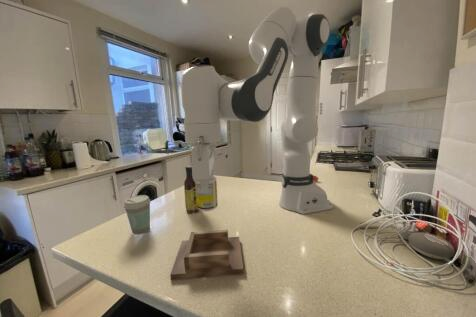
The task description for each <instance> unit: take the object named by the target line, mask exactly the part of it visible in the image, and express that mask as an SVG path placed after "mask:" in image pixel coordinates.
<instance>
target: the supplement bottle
mask: <svg viewBox="0 0 476 317" xmlns="http://www.w3.org/2000/svg"><path fill="white" fill-rule="evenodd" d="M195 188H196V203H197V208H198V209H199V210H200V211H201V212H210V211H214V210H215V209H217V208H218V190H217V189H218V187H217V178H216V176H214V170H213V169H212V172H211V176H210V180H209V192H208V193H202V192H201V185H200V182H195Z"/></svg>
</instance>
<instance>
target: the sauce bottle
mask: <svg viewBox="0 0 476 317" xmlns="http://www.w3.org/2000/svg"><path fill="white" fill-rule="evenodd" d="M185 174H186V175H185V177H186V178H185V179H184V182H183V185H184V188H183V190H184V201H185V202H184V203H185V209H186V210H185V211H186V213H187V214H190V215H191V214H192V215H193V214H198V213H199V212H200V211H201V210H199V209H198V208H197V203H196V188H195V181H194V180H193V176H192V164H191V165H186V166H185Z"/></svg>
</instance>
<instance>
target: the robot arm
mask: <svg viewBox="0 0 476 317" xmlns="http://www.w3.org/2000/svg"><path fill="white" fill-rule="evenodd" d="M266 15H267V14H266ZM329 37H330V23H329V19H328V18H327V17H326V16H325V15H324V14H321V13H317V14H316V13H315V14H311V15H310V16H304V17H300V18H296V14H295V12H293V10H292V9H290V8H289V7H286V6H278V7H276V8H275V9H273V10H272V11H270V12H269V13H268V15H267V16H265V17H264V18H263V19H262V20H261V22H260V23H259V24H258V25H257V27H256V28H255V30H254V31H253V33H252V34H251V36H250V40H249V42H248V52H249V54H250V57H251V59H252V60H253V61H254V63H255V64H257V65H258V68H257V70H256V72H255V73H254V74H253V75H250V76H248V77H246V78H243V79H241V80H236V81H233V82H230V81H228V80H226V79H224V78H223V77H222V76H221V75H220V74H219V73H217V71H216V69H215V66H213V65H210V64H200V65H196V66H192V67H190V68H187V69H185V71H184V72H183V73H182V76H181V88H180V89H181V105H182V109H183V112H184V119H183V128H184V129H183V130H184V140H185V143H186V144H189V145H190V149H191V152H190V153H191V165H192V176H193V180H194V181H195V182H200V185H201V192H202V193H208V192H209V180H210V176H211V172H212V170H213V167H214V163H215V158H216V157H215V156H216V153H215V152H216V149H217V143H220V142H221V141H222V136H221V135H222V134H221V132H222V131H221V121H230V122H231V121H236V122H237V121H243V122H252V123H257V122H260V121H262V120H263V119H265V118H266V117H267V116H268V113H270V111H271V109H272V107H273V106H272V105H273V102H274V101H273V100H274V97H275V96H274V94H275V92H276V90H277V86H278V85H279V82H280V80H281V77H282V75H283V72H284V69H285V67H286V65H287V61H288V58H291V63H290V67H289V73H288V80H287V82H288V83H287V88H286V89H287V90H286V91H287V92H286V108H287V109H286V110H287V117H286V118H284V120H283V121H282V123H281V125H280V133H281V135H280V136H281V148H282V160H283V161H282V163H283V165H282V168H283V169H282V174H281V186H282V189H281V194H280V199H279V202H278V205H279V206H280V207H281V208H282V209H285V210H288V211H292V212H296V213H299V214H302V215H306V214H310V213H311V214H312V213H317V212H323V211H324V212H325V211H328V210H334V204H333V203H332V201H330V200H329V198H328V195H327V192H326V190H324V188H322V187H321V186H320V185H318V184H316V183H315V182H318V181H319V177H318V176H316V175H312V174H313V173H312V174H310V173H311V170H310V169H311V154H310V152H309V146H308V143H310V142H311V141H313V140H314V139H315V138H316V137H317V135H318V133H319V125H318V124H317V113H316V95H317V88H318V78H319V55H320V54H321V53H322V50H323V49H324V48H325V47H326V45H327V43H328V41H329Z"/></svg>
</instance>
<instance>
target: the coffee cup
mask: <svg viewBox="0 0 476 317" xmlns="http://www.w3.org/2000/svg"><path fill="white" fill-rule="evenodd" d="M150 206H151V199H150V197H149V196H148V195H146V194H139V195H135V196H130V197H129V198H126V199H125V201H124V204H123V208H124V209H125V212H126V216H127V219H128V223H129V227H130V230H131V232H132V234H133V235H141V234H145V233H146V232H149V231H150V229H151V228H150V227H151V207H150Z"/></svg>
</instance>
